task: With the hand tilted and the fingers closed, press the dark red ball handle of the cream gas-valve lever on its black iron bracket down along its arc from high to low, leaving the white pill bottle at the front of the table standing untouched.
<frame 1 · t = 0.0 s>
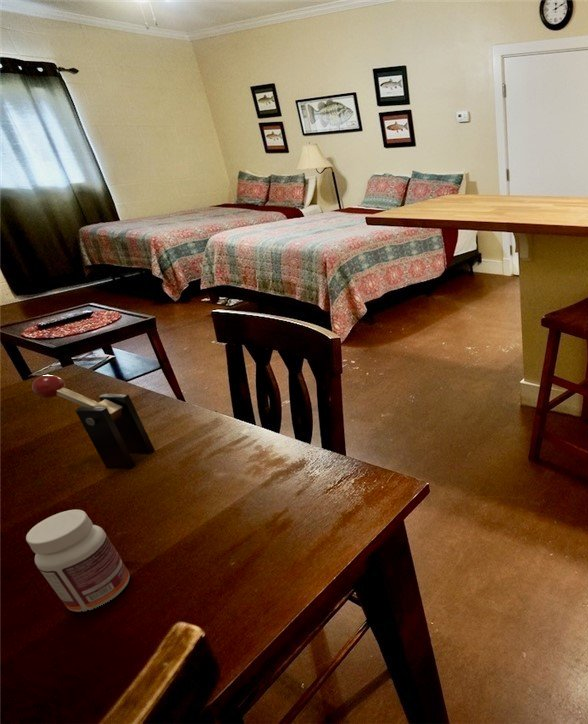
pill bottle: (100, 592, 59), on the table
bracket: (134, 465, 81), on the table
lever: (77, 398, 75), point 13 cm above the table, hinge at 30.0°
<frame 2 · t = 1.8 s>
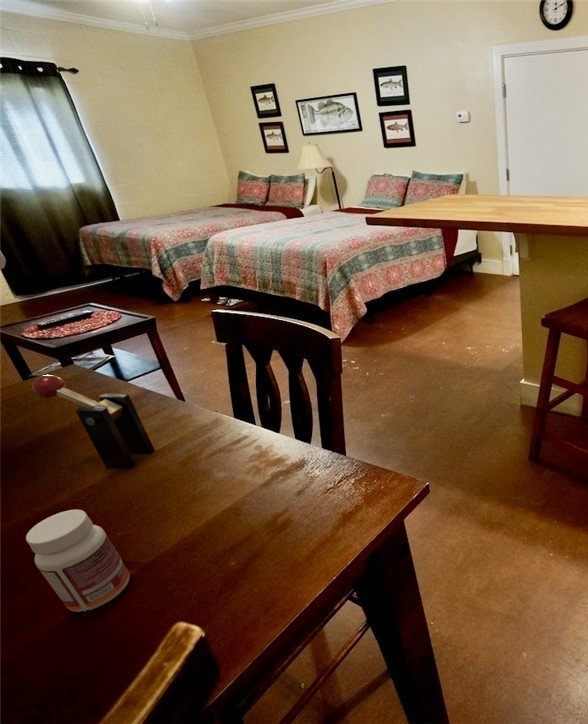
nothing on the table moved.
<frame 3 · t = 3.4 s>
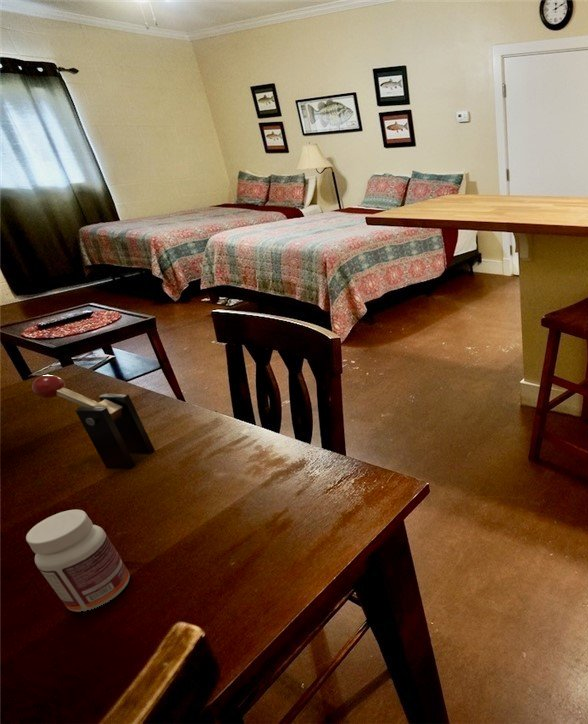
nothing on the table moved.
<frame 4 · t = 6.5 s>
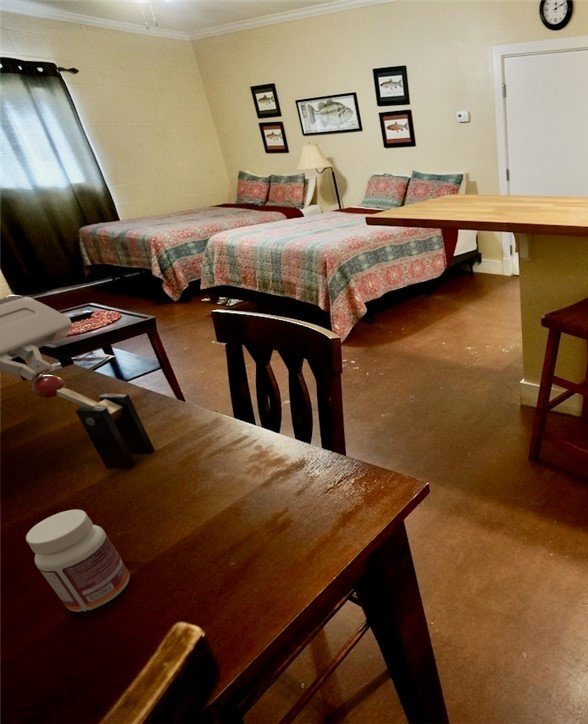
hand: (41, 373, 73), 18 cm above the table, tool tilted 45°, fingers closed, pressing on lever
lever: (77, 398, 75), point 13 cm above the table, hinge at 30.0°, touching gripper
everything else where it was.
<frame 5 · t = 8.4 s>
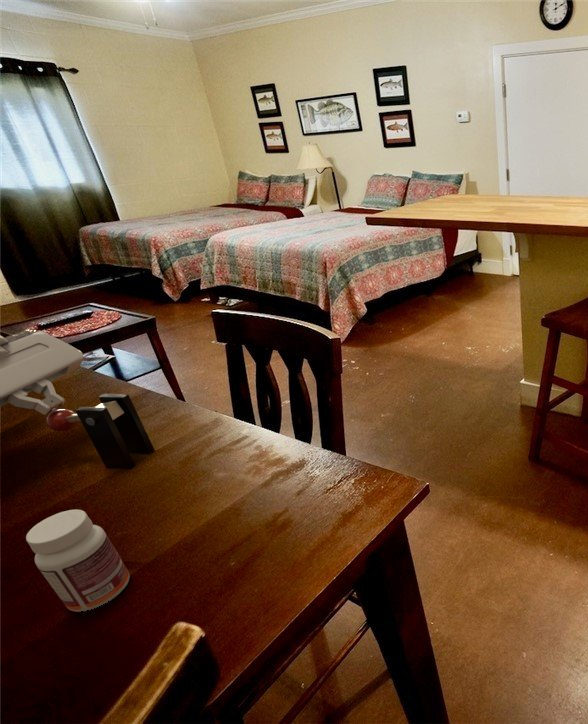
hand: (55, 407, 76), 11 cm above the table, tool tilted 45°, fingers closed, pressing on lever
lever: (83, 416, 77), point 10 cm above the table, hinge at -12.4°, touching gripper
everything else where it was.
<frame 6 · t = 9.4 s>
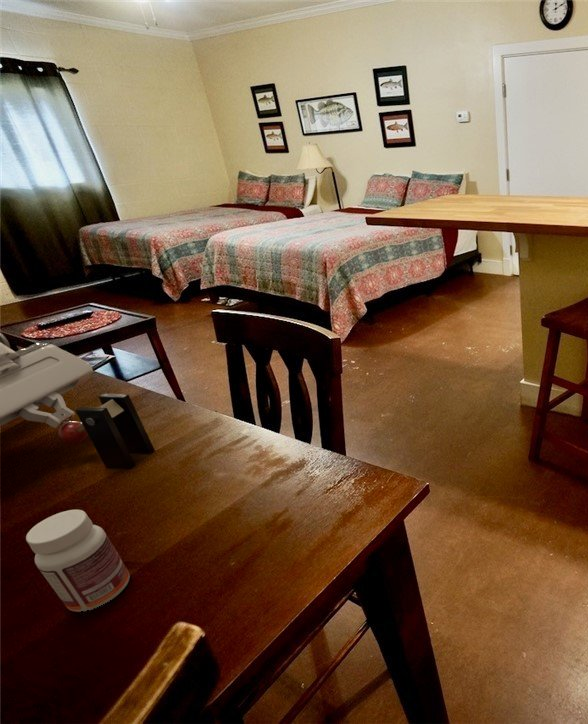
hand: (66, 421, 77), 9 cm above the table, tool tilted 45°, fingers closed, pressing on lever
lever: (89, 422, 77), point 9 cm above the table, hinge at -28.6°, touching gripper
everything else where it was.
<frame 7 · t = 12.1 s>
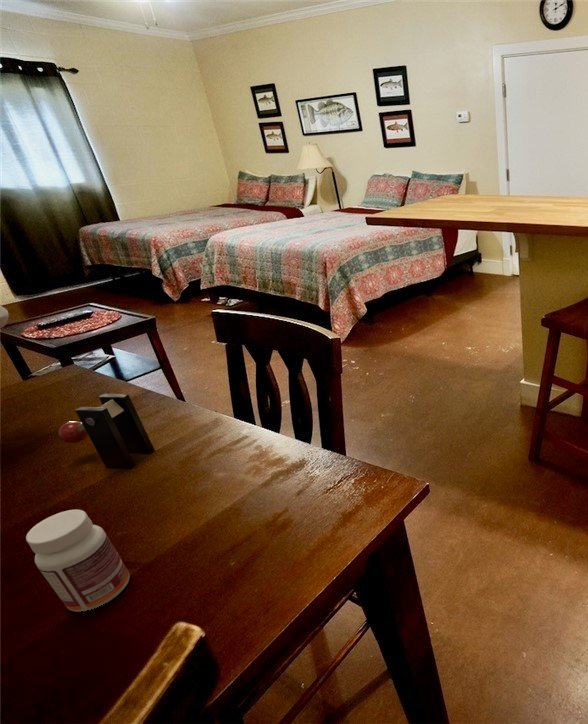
lever: (89, 422, 77), point 9 cm above the table, hinge at -28.6°
everything else where it was.
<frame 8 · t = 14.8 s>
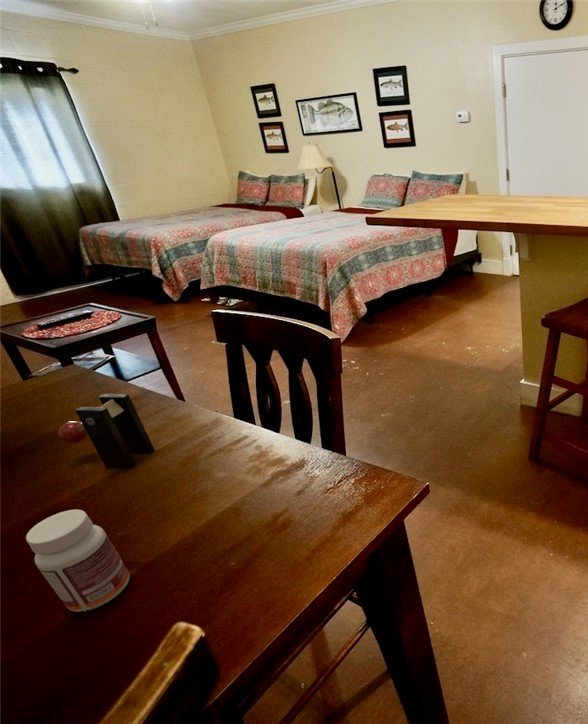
nothing on the table moved.
at the end: lever at -29° (first picture: +30°); pill bottle moved 0.2 cm from its start; pill bottle tilted 0° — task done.
